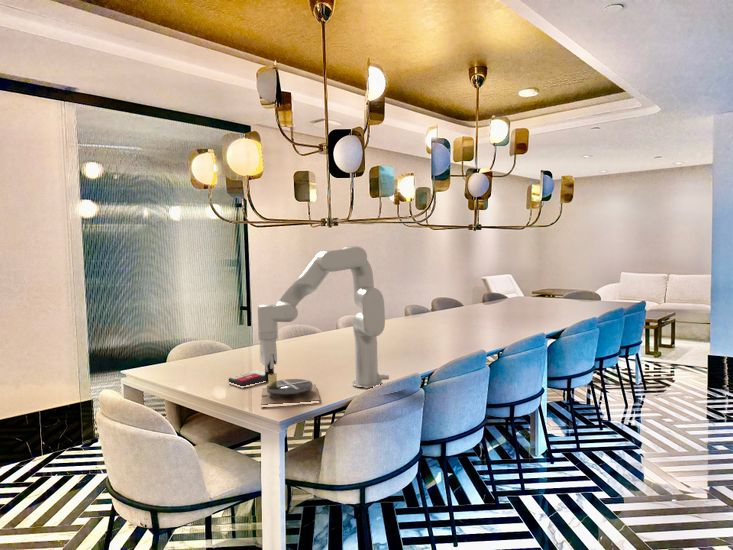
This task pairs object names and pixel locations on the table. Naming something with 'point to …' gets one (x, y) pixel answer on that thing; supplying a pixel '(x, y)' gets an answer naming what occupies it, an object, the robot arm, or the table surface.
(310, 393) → the valve base
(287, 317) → the robot arm
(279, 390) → the handwheel
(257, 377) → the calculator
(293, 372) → the table surface
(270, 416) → the table surface
